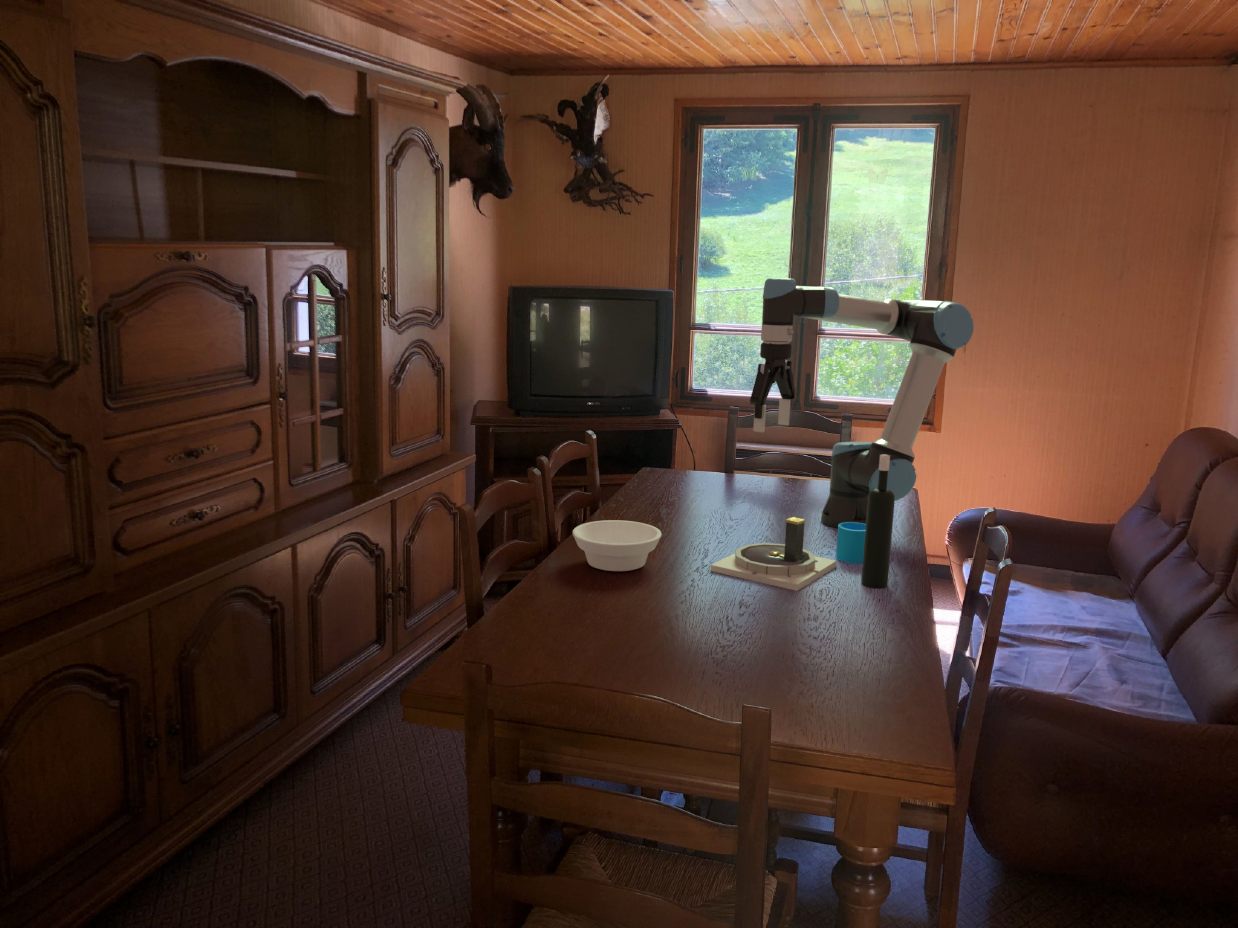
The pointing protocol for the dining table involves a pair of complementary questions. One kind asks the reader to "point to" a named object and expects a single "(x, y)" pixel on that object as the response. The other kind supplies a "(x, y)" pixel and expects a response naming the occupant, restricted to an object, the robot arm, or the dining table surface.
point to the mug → (851, 542)
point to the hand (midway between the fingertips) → (771, 428)
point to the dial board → (774, 579)
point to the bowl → (616, 543)
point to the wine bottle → (878, 530)
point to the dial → (782, 554)
